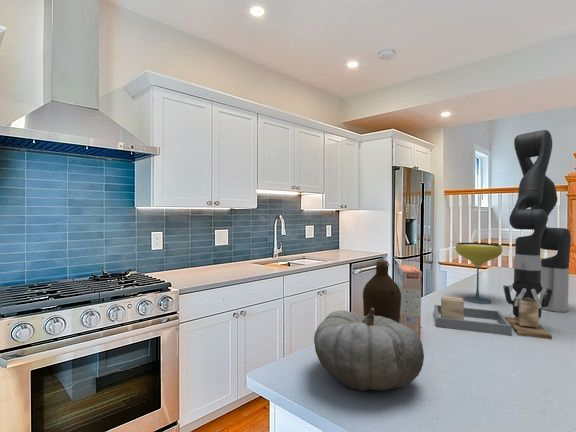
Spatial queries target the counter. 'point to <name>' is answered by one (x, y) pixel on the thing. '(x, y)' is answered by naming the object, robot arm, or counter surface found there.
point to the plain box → (452, 308)
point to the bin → (474, 325)
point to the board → (528, 329)
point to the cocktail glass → (478, 260)
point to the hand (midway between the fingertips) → (526, 317)
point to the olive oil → (382, 294)
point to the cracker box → (410, 296)
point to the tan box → (528, 312)
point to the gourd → (368, 350)
